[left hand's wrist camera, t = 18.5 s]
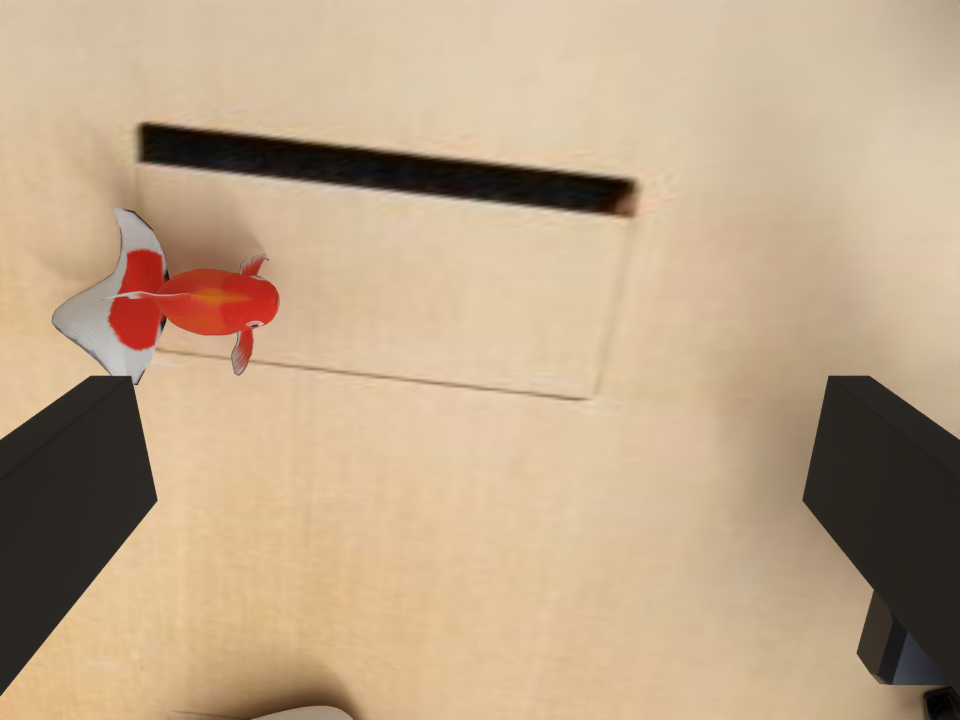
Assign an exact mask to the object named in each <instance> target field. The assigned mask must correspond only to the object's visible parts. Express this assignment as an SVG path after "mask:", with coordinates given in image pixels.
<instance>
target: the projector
mask: <svg viewBox="0 0 960 720" xmlns="http://www.w3.org/2000/svg"><path fill="white" fill-rule="evenodd" d="M252 720H353V719H352V718H351V717H350V716H349V715H348V714H347V713H345V712H344V711H342V710H340V709H338V708H335V707H330V706H309V707H301V708H296V709H290V710H286V711H282V712H277V713H273V714H269V715H266V716H262V717H258V718H255V719H252Z"/></svg>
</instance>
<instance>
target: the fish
mask: <svg viewBox="0 0 960 720" xmlns="http://www.w3.org/2000/svg"><path fill="white" fill-rule="evenodd" d="M111 208H112V209H113V211H114V213H115V215H116V217H117V220H118V222H119V225H120V231H121V253H120V258H119V261H118V264H117V268H116V270H115V272H114V273H113V274H111V275H110V276H108V277H107V278H105V279H104V280H102V281H101V282H100V283H98V284H97V285H95V286H94V287H91V288H89V289H87V290H85V291H83V292H81V293H79V294H77V295H75V296H73V297H71V298H70V299H68V300H67V301H66V302H65V303H63V304H62V305H61V306H60V307H58V308H57V309H56V310H55V312H54V314H53V316H52V323H53V325H54V326H55V328H56V329H57V330H58V331H60V332H61V333H62V334H63V335H65V336H66V337H67V338H69V339H70V340H72V341H73V342H74V343H76V344H77V345H79V346H80V347H81V348H82V349H84V350H85V351H86V352H87V353H88V354H90V355H91V356H92V357H93V358H94V359H96V360H97V361H98V362H99V363H100V364H101V365H102V366H103V367H104V368H105V370H106V371H107V372H108V373H109V374H110V375H111V376H132V381H133V385H138V383H139V381H140V379H141V377H142V375H143V373H144V371H145V369H146V367H147V365H148V363H149V361H150V359H151V357H152V355H153V353H154V350H155V348H156V346H157V343H158V341H159V338H160V336H161V333H162V331H163V328H164V326H165V323H166V317H167V318H168V319H169V320H170V321H171V322H172V323H173V324H175V325H176V326H178V327H180V328H182V329H185V330H187V331H190V332H193V333H196V334H200V335H229V334H233V333H235V332H238V338H237V343H236V345H235V347H234V349H233V351H232V356H231V358H232V364H233V369H234V373H235V374H236V375H240V374H241V373H243V372H244V370H245V368H246V367H247V364H248V361H249V358H250V356H251V355H252V350H253V332H252V329H254V328H257V327H259V326H263V325H266V324H268V323H269V322H271V321H272V320H273V318H274V317H275V315H276V314H277V313H278V309H279V305H280V298H279V294H278V292H277V290H276V288H275V286H273V285H272V284H271V283H270V282H268V281H267V280H265V279H264V278H262V277H260V276H257V273H258V271H259V269H260V266H261V264H262V262H263V260H264V259H267V260H269V259H268V258H267V256H266V255H265V254H263V255H259V256H255V257H253V258H250V259H248V260H246V261H245V262H243V263H242V264H241V266H240V273H239V274H236V273H235V274H232V273H229V272H226V271H220V270H212V269H197V270H192V271H188V272H185V273H182V274H179V275H177V276H174V277H173V278H171V279H170V280H169V274H168V270H167V266H166V262H165V258H164V254H163V252H162V249H161V246H160V244H159V242H158V240H157V238H156V236H155V234H154V231H153V229H152V228H151V227H150V226H149V225H148V224H146V223H145V222H144V221H143V220H142V219H141V218H140V217H139V216H138V215H137V214H136V213H135V212H134V211H130V210H125V209H120V208H115V207H111Z"/></svg>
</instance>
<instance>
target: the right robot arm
mask: <svg viewBox="0 0 960 720" xmlns="http://www.w3.org/2000/svg"><path fill="white" fill-rule="evenodd" d="M857 655H858V656H859V658H860V659H861V661H862V662H863V664H864V665H865V666H866V668H867V669H868V671H869V672H870V674H871V675H872V676H873V677H874V678H875V679H876V680H877V681H878V683H879V684H889V685H949V682H948V681H947V680H946V679H945V677H944V676H943V675H942V674H941V672H940V671H939V670H938V669H937V667H936V666H935V665H934V664H933V662H932V661H931V660H930V659H929V658H928V656H927V655H926V654H925V653H924V651H923V650H922V649H921V648H920V646H919V645H918V644H917V643H916V641H915V640H914V639H913V638H912V636H911V635H910V634H909V633H908V631H907V630H906V629H905V628H904V626H903V625H902V624H901V623H900V621H899V620H898V619H897V618H896V616H895V615H894V614H893V613H892V611H891V610H890V609H889V608H888V606H887V605H886V604H885V603H884V602H883V600H882V599H881V598H880V597H879V595H878V594H877V593H876V592H875V590H874V591H873V595H872V599H871V602H870V606H869V610H868V613H867V617H866V620H865V624H864V628H863V631H862V635H861V639H860V642H859V646H858V650H857ZM924 705H925V714H926V720H960V696H959V695H958V694H957V692H956V691H955V690H954V689H953V687H949V688H945V689H941V690H937V691H932V692H928V693H926V694H925V695H924Z"/></svg>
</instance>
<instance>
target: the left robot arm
mask: <svg viewBox="0 0 960 720" xmlns="http://www.w3.org/2000/svg"><path fill="white" fill-rule="evenodd" d="M157 501H158V500H157V495H156V490H155V486H154V481H153V476H152V471H151V467H150V462H149V457H148V452H147V448H146V443H145V438H144V433H143V429H142V424H141V419H140V414H139V409H138V405H137V400H136V395H135V390H134V386H133V381H132V376H90V377H88V378H87V379H85V380H84V381H83V382H81V383H80V384H78V385H77V386H76V387H74V388H73V389H71V390H70V391H69V392H67V393H66V394H64V395H63V396H61V397H60V398H59V399H57V400H56V401H54V402H53V403H52V404H50V405H49V406H47V407H46V408H45V409H43V410H42V411H40V412H39V413H38V414H36V415H35V416H33V417H32V418H31V419H29V420H28V421H26V422H25V423H23V424H22V425H21V426H19V427H18V428H16V429H15V430H14V431H12V432H11V433H9V434H8V435H7V436H5V437H4V438H2V439H1V440H0V696H1V695H2V694H3V692H4V691H5V690H6V689H7V687H8V686H9V685H10V684H11V682H12V681H13V680H14V679H15V677H16V676H17V675H18V674H19V672H20V671H21V670H22V669H23V667H24V666H25V665H26V664H27V662H28V661H29V660H30V659H31V658H32V656H33V655H34V654H35V653H36V651H37V650H38V649H39V648H40V646H41V645H42V644H43V643H44V641H45V640H46V639H47V638H48V636H49V635H50V634H51V633H52V631H53V630H54V629H55V628H56V626H57V625H58V624H59V623H60V621H61V620H62V619H63V618H64V616H65V615H66V614H67V613H68V611H69V610H70V609H71V608H72V606H73V605H74V604H75V603H76V602H77V600H78V599H79V598H80V597H81V595H82V594H83V593H84V592H85V590H86V589H87V588H88V587H89V585H90V584H91V583H92V582H93V580H94V579H95V578H96V577H97V575H98V574H99V573H100V572H101V570H102V569H103V568H104V567H105V565H106V564H107V563H108V562H109V560H110V559H111V558H112V557H113V555H114V554H115V553H116V552H117V550H118V549H119V548H120V547H121V546H122V544H123V543H124V542H125V541H126V539H127V538H128V537H129V536H130V534H131V533H132V532H133V531H134V529H135V528H136V527H137V526H138V524H139V523H140V522H141V521H142V519H143V518H144V517H145V516H146V514H147V513H148V512H149V511H150V509H151V508H152V507H153V506H154V504H155V503H156V502H157ZM802 501H803V502H804V503H805V504H806V506H807V507H808V508H809V509H810V511H811V512H812V513H813V514H814V516H815V517H816V518H817V519H818V521H819V522H820V523H821V524H822V526H823V527H824V528H825V529H826V531H827V532H828V533H829V534H830V536H831V537H832V538H833V539H834V541H835V542H836V543H837V544H838V546H839V547H840V548H841V549H842V550H843V552H844V553H845V554H846V555H847V557H848V558H849V559H850V560H851V562H852V563H853V564H854V565H855V567H856V568H857V569H858V570H859V572H860V573H861V574H862V575H863V577H864V578H865V579H866V580H867V582H868V583H869V584H870V585H871V587H872V588H873V589H874V590H875V592H876V593H877V594H878V595H879V597H880V598H881V599H882V600H883V602H884V603H885V604H886V605H887V606H888V608H889V609H890V610H891V611H892V613H893V614H894V615H895V616H896V618H897V619H898V620H899V621H900V623H901V624H902V625H903V626H904V628H905V629H906V630H907V631H908V633H909V634H910V635H911V636H912V638H913V639H914V640H915V641H916V643H917V644H918V645H919V646H920V648H921V649H922V650H923V651H924V653H925V654H926V655H927V656H928V658H929V659H930V660H931V661H932V662H933V664H934V665H935V666H936V667H937V669H938V670H939V671H940V672H941V674H942V675H943V676H944V677H945V679H946V680H947V681H948V682H949V684H950V685H951V686H952V687H953V689H954V690H955V691H956V692H957V694H958V695H959V696H960V440H959V439H958V438H956V437H955V436H953V435H952V434H951V433H949V432H948V431H946V430H945V429H944V428H942V427H941V426H939V425H938V424H937V423H935V422H934V421H932V420H931V419H929V418H928V417H927V416H925V415H924V414H922V413H921V412H920V411H918V410H917V409H915V408H914V407H913V406H911V405H910V404H908V403H907V402H906V401H904V400H903V399H901V398H900V397H899V396H897V395H896V394H894V393H893V392H891V391H890V390H889V389H887V388H886V387H884V386H883V385H882V384H880V383H879V382H877V381H876V380H875V379H873V378H872V377H870V376H828V381H827V386H826V390H825V395H824V400H823V405H822V409H821V414H820V419H819V424H818V429H817V433H816V438H815V443H814V448H813V452H812V457H811V462H810V467H809V471H808V476H807V481H806V486H805V490H804V495H803V500H802Z"/></svg>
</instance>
